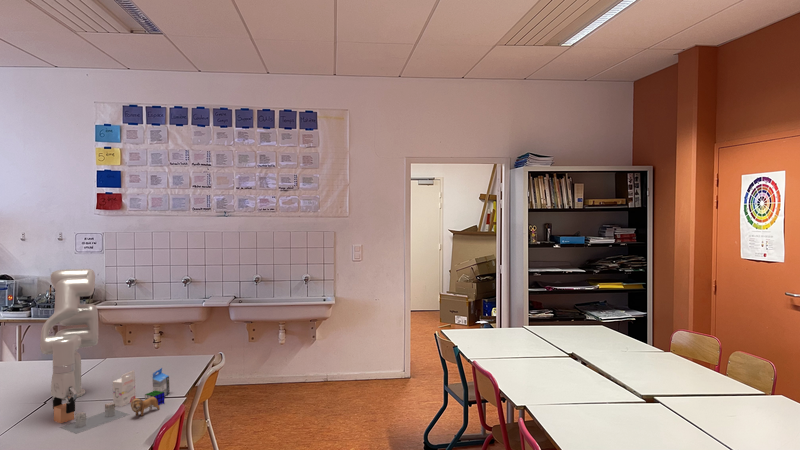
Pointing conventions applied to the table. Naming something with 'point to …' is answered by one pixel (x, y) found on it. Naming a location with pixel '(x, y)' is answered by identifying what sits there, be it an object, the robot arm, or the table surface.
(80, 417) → the post
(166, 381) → the label tape box
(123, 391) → the ink cartridge box
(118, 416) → the board
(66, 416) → the orange wooden cube
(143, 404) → the lion figurine
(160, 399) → the puzzle toy
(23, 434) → the table surface
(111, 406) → the post
